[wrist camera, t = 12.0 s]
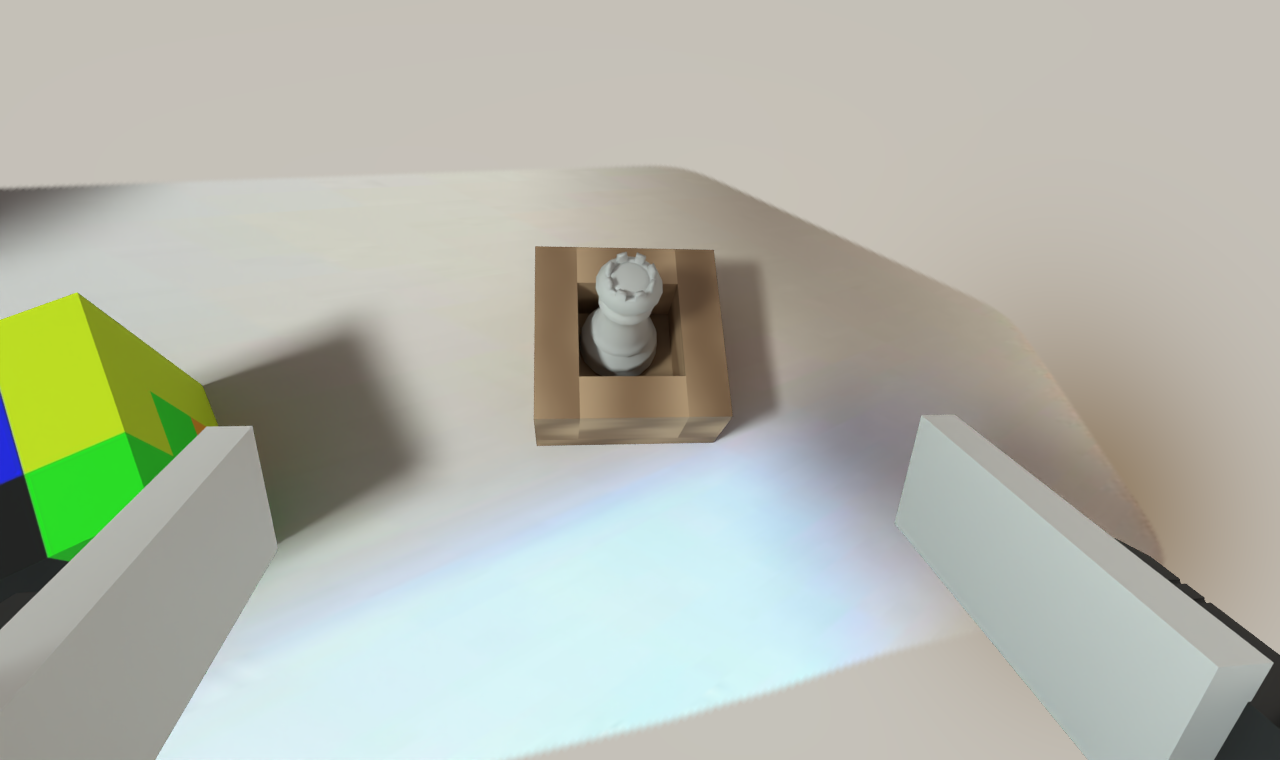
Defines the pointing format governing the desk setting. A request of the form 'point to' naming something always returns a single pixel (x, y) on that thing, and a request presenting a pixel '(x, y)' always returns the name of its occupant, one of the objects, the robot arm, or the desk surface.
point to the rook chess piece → (622, 318)
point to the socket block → (664, 392)
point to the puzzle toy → (80, 431)
